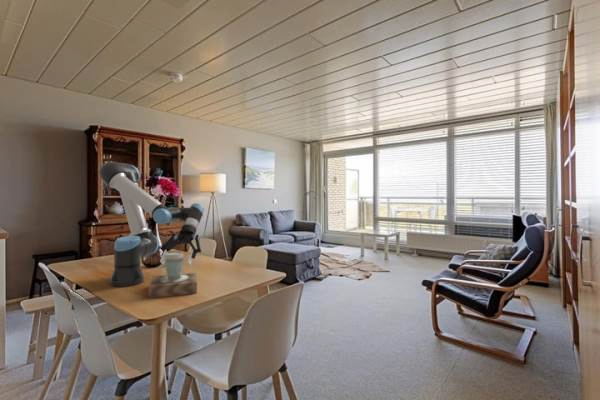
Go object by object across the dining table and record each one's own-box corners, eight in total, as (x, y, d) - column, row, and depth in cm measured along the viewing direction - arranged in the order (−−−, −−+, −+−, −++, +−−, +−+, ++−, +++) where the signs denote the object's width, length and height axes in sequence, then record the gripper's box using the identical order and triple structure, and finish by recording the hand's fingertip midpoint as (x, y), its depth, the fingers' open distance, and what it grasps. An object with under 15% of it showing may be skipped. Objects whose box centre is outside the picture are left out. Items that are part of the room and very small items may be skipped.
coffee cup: (177, 281, 138) (176, 255, 137) (160, 280, 139) (160, 254, 139) (187, 276, 146) (187, 252, 146) (172, 275, 148) (172, 251, 147)
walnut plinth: (148, 297, 131) (148, 285, 131) (153, 286, 147) (153, 275, 147) (196, 293, 138) (196, 281, 138) (195, 282, 155) (195, 272, 155)
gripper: (214, 233, 158) (202, 268, 144) (169, 232, 160) (153, 266, 146) (210, 224, 153) (198, 259, 138) (164, 223, 155) (147, 258, 140)
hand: (175, 263), depth 142 cm, fingers open, 13 cm apart
